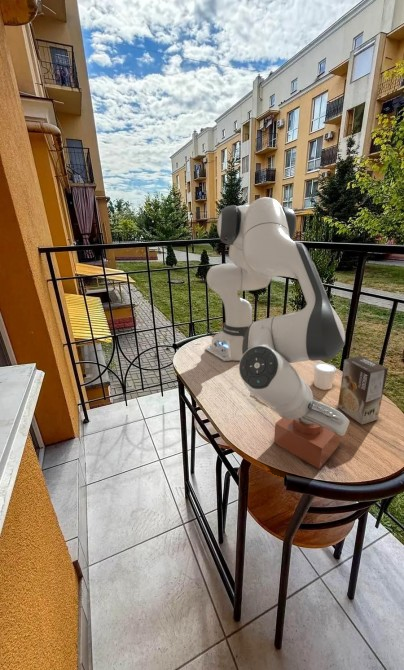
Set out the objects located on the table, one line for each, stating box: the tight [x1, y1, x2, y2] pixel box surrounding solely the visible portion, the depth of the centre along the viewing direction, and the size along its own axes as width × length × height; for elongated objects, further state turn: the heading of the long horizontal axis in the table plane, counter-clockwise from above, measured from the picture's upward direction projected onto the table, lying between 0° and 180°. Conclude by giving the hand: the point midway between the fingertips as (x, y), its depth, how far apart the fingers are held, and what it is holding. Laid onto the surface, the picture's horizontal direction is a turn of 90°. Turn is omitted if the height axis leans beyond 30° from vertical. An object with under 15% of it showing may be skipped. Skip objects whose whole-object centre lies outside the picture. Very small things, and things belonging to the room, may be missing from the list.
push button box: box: [273, 417, 341, 470], centre depth 69 cm, size 12×10×8 cm
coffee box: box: [337, 355, 389, 425], centre depth 79 cm, size 9×6×16 cm
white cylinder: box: [313, 362, 337, 391], centre depth 95 cm, size 7×7×7 cm
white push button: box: [300, 417, 314, 425], centre depth 68 cm, size 4×4×2 cm
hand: (308, 415), depth 67 cm, fingers closed, pressing on white push button
